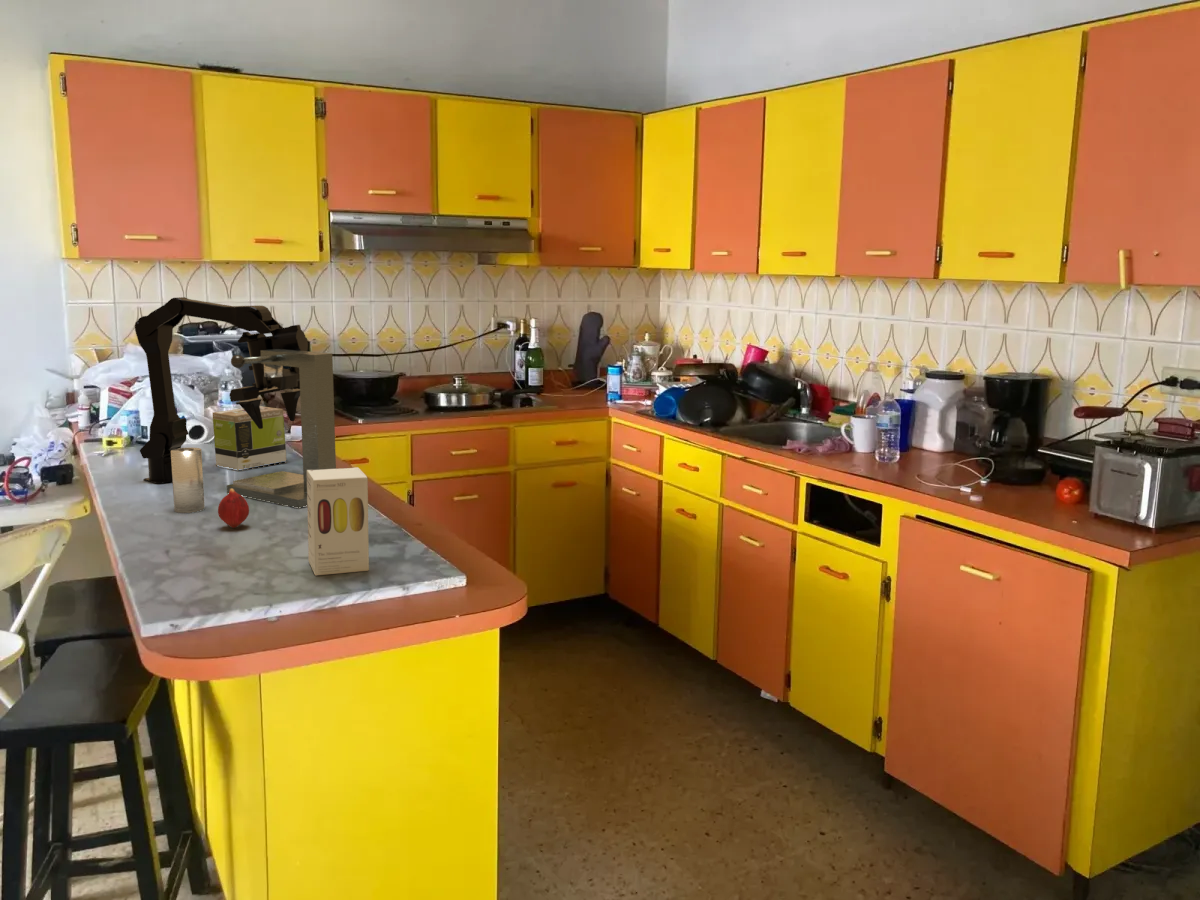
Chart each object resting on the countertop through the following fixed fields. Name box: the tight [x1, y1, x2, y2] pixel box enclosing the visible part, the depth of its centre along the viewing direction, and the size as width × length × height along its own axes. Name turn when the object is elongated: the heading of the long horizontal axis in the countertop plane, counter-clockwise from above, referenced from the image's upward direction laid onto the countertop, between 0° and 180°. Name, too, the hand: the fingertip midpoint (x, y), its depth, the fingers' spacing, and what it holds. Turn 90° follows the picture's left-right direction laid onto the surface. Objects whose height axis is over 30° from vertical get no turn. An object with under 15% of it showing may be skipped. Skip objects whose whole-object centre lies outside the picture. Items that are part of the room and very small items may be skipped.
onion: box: [217, 489, 250, 529], centre depth 196 cm, size 6×6×8 cm
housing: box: [171, 447, 206, 514], centre depth 209 cm, size 6×6×13 cm
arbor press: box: [226, 349, 337, 508], centre depth 220 cm, size 24×22×33 cm
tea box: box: [212, 405, 287, 470], centre depth 257 cm, size 15×10×15 cm, turn 144°
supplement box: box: [306, 466, 370, 576], centre depth 171 cm, size 10×9×17 cm
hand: (277, 424), depth 232 cm, fingers open, 9 cm apart
